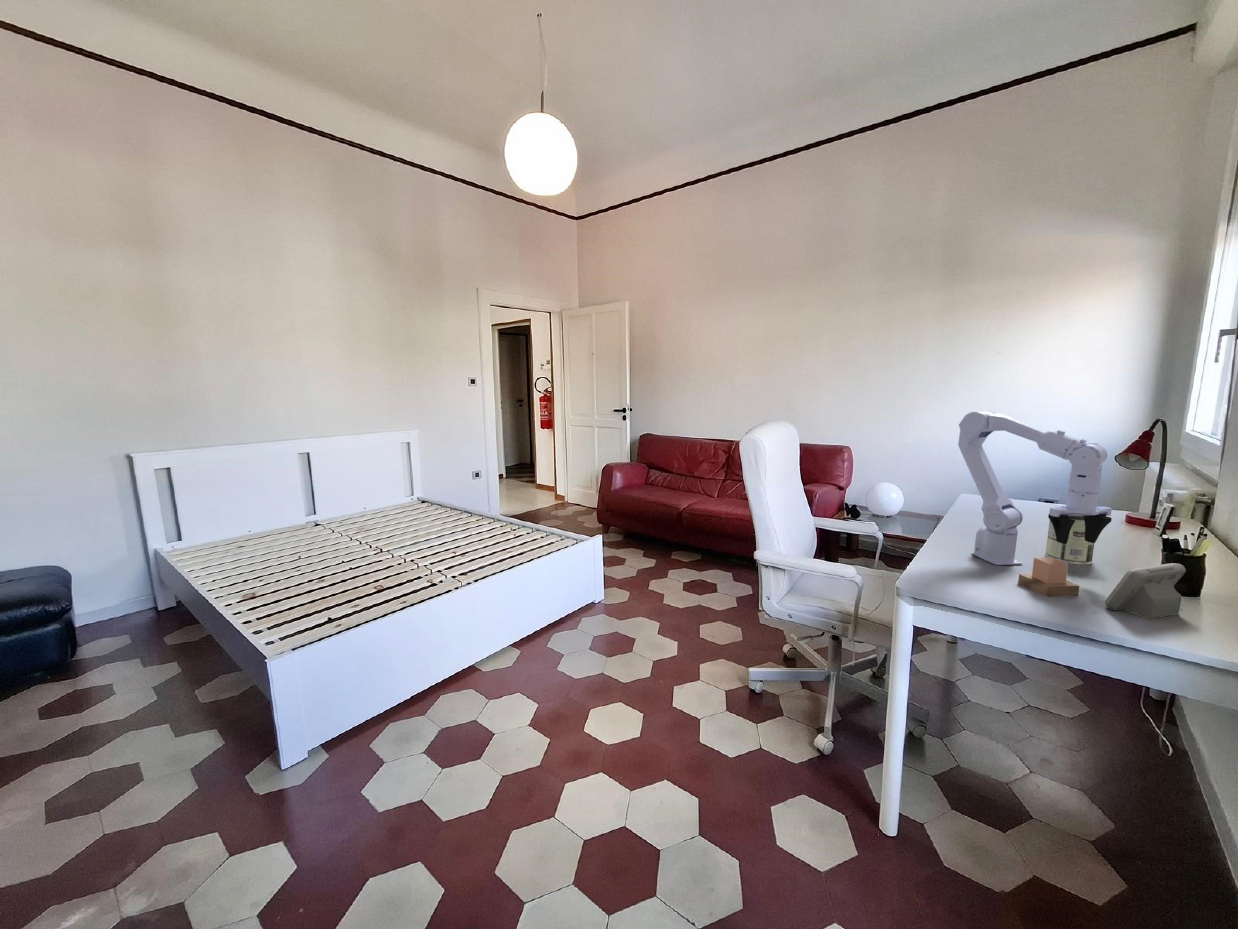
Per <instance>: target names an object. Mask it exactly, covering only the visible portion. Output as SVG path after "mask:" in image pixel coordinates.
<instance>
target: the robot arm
mask: <svg viewBox="0 0 1238 929" xmlns="http://www.w3.org/2000/svg"><path fill="white" fill-rule="evenodd" d="M958 427H959V435H958V443H957V444H958V449H959V451H960V453H961V454H962V456H963V459H964V461H965V465H966V466H967V468H968V470H969V473H970V474H971V476H972V479H973V482H974V483H975V485H976V487H977V490H978V492H979V494H980V497H981V498H982V505H981V511H982V514H983V518H982V519H983V520H982V521H983V524H984V526H982V527H980V528H978V530H977V532H976V534H975V540H974V541H975V542H974V551H971V553H970V554H971V555H973V556H975V557H977V558H980V559H982V560H984V561H986V562H988V563H991V564H992V565H996V566H1002V565H1004V566H1007V565H1008V566H1009V565H1023V562H1022V561H1019V560H1017V559H1015V555H1016V549H1017V548H1016V547H1017V541H1018V532H1019V531H1018V528H1017V527H1019V525H1021V524H1022V522H1023V520H1024V518H1023V514H1022V512H1021V511H1020V509H1018V508H1017V507H1016V506H1015V505H1014V503H1013V501H1012V500H1011V499H1010V498H1009V497H1007V496H1006V495H1005V493H1004V491H1003V489H1002V486H1001V484H1000V482H999V480H998V478H997V475H996V473H995V471H994V469H993V467H992V465H991V463H990V461H989V458H988V456H987V454H986V451H985V450H984V448H983V444H984V442H985V441H986V439H988V436H990V435H991V434H992V433H993V432H1001V431H1002V432H1003V431H1005V432H1006V433H1009V434H1013V435H1016V436H1018V437H1021V438H1024V439H1026V440H1028V441H1032V442H1034V443H1036V445H1037V447H1038V449H1039V450H1041V451H1044V452H1047V453H1048V454H1051V455H1054V456H1055V457H1058V458H1060V459H1063V460H1065V461H1068V462H1069V463H1070V465H1071V470H1070V474H1069V480H1068V488H1067V494H1066V501H1065V505H1061V506H1057V507H1056V506H1055V507H1049V511H1048V519H1049V521H1051V523H1052V525H1053V527H1054V530H1055V534H1056V540H1057V542H1059V543H1062V544H1067V541H1068V538H1069V533H1070V530H1071V528H1072V526H1073V524H1074V523H1075V520H1073V519H1069V518H1070V517H1068V516H1081V515H1083V517H1084V521H1085V541H1087V542H1090V543H1094V544H1095V543H1096V542H1097V541H1098V539H1099V537H1100V534H1101V533H1102V532H1103V531H1104V529H1105V528H1106V527H1107V525H1109V524H1110V523H1111V522H1112V519H1113V518H1112V517H1110V516H1112V510H1113V508H1112V507H1108V506H1098V500H1099V494H1100V489H1101V488H1100V487H1101V481H1102V471H1103V464H1104V463H1105V462H1106V460H1107V458H1108V451H1107V449H1105V448H1104V447H1103V446H1102V445H1099V444H1098V443H1093V442H1090V443H1087V442H1088V440H1087V439H1084V438H1081V439H1078V438H1075V437H1073V436H1072V435H1071V436H1070V435H1067V434H1066V431H1065V430H1062V429H1058V430H1055V429H1052V430H1047V431H1043V430H1042V429H1039V428H1036V427H1034V426H1031V425H1030V424H1027V423H1025V422H1022V421H1020V420H1017V419H1015V418H1013V417H1011V416H1009V415H1006V414H1003V413H997V412H995V411H992V410H984V411H971V412H969V413H967V414H965V415H964V416H963V418H962V419H961V421H960V422H959V424H958Z"/></svg>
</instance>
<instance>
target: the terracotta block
mask: <svg viewBox="0 0 1238 929" xmlns="http://www.w3.org/2000/svg"><path fill="white" fill-rule="evenodd" d="M1068 569H1069V563H1065V562H1062V561H1060V560H1057V559H1055V558H1052V557H1046V556H1045V557H1033V564H1032V572H1031V574H1032V577H1034V578H1036V579H1038V580H1041V581H1043V582H1045V583H1066V580H1067V575H1068Z"/></svg>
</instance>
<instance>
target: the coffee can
mask: <svg viewBox="0 0 1238 929" xmlns="http://www.w3.org/2000/svg"><path fill="white" fill-rule="evenodd" d="M1068 517H1070V518H1069V519H1073V520H1075V523H1074V524H1073V526H1072V528H1071V530H1070V533H1069V538H1068V541H1067V544H1062V543H1059V542H1057V540H1056V534H1055V530H1054V527H1053V525H1052V523H1051V521H1050V520H1048V521H1049V522H1048V531H1047V540H1046V547H1045V553H1044V556H1045V557H1052V558H1055V559H1057V560H1060V561H1062V562H1065V563H1067V564H1070V565H1080V566H1081V565H1083V566H1086V565H1087V566H1088V565H1092V564H1093V557H1094V556H1093V555H1094V549H1095V543H1090V542H1087V541H1085V521H1084V517H1083V515H1081V516H1068Z"/></svg>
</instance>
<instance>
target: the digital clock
mask: <svg viewBox="0 0 1238 929" xmlns="http://www.w3.org/2000/svg"><path fill="white" fill-rule="evenodd" d="M1186 571H1187V570H1186V568H1185V566H1184V565H1182V564H1181V563H1176V562H1175V563H1173V562H1171V563H1164V564H1157V565H1151V566H1150V565H1148V566H1145V567H1138V568H1137V567H1136V568H1132V569H1129V570H1128V571H1127V572H1126V573H1125V574H1124V575H1123V577H1122V578H1121V579H1120V581H1119V582H1118V583H1117V584H1116V586H1115V587H1114V588H1113V589H1112V591H1111V592H1110V594H1108V596H1107V597H1106V599H1105V600H1104V604H1105V605H1104V606H1105V607H1106V608H1108V609H1110V610H1112V611H1113V610H1114V611H1121V610H1123V609H1124V611H1127V612H1129V613H1132V614H1134V615H1138V616H1140V617H1143V618H1146V619H1149V620H1151V619H1157V618H1163V617H1167V616H1168V617H1169V616H1173V615H1178V614H1180V608H1181V603H1182V595H1181V593H1179V592H1178V591H1177V590H1176V588H1175V585H1176V584H1178V582H1179V581H1180V580H1181V578H1182V577H1183V576H1184V574H1185V573H1186Z"/></svg>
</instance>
